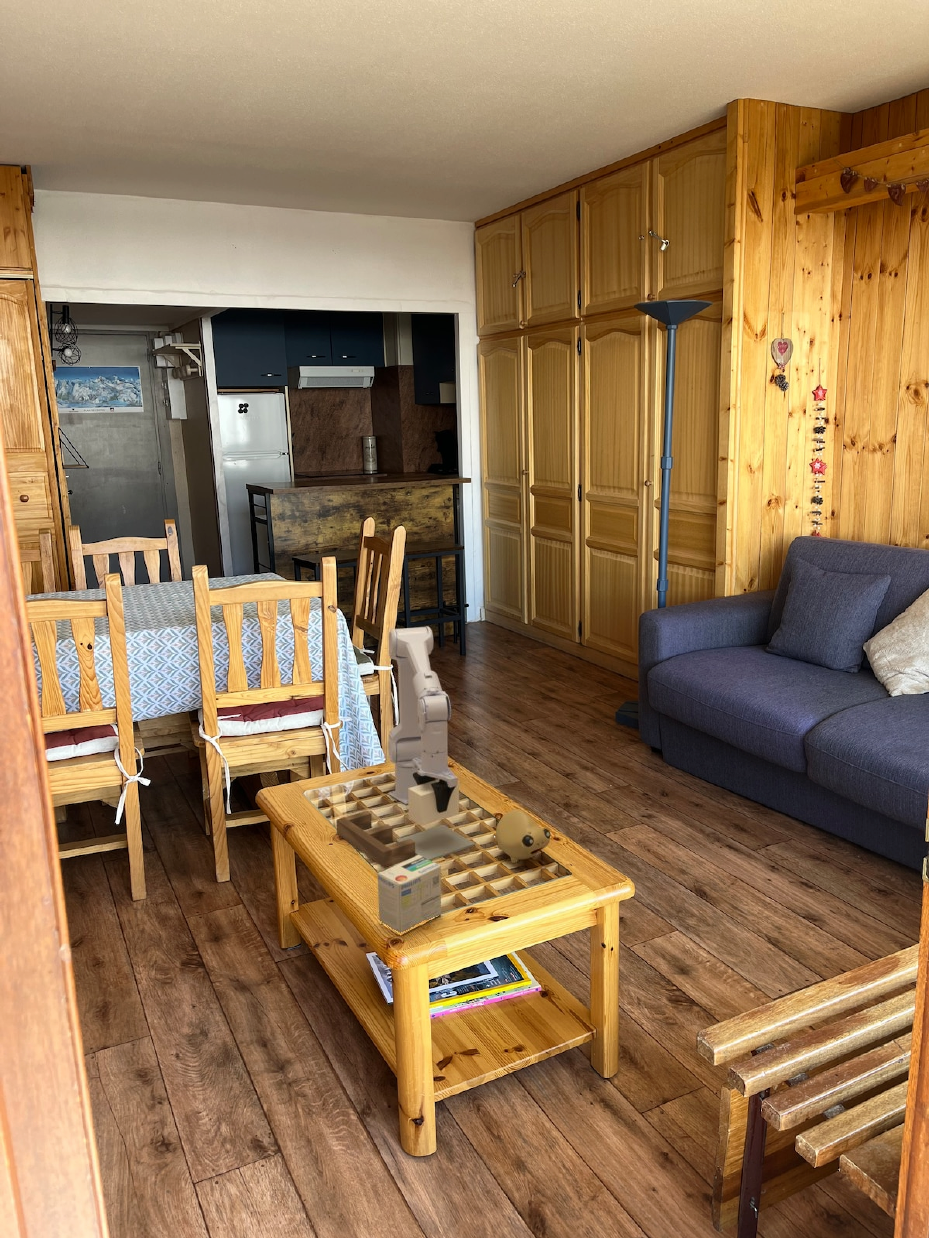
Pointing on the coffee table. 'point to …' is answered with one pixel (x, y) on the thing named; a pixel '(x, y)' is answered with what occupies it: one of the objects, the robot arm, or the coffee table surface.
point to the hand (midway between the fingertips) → (434, 806)
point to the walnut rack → (374, 839)
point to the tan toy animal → (520, 835)
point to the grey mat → (438, 842)
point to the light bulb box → (409, 893)
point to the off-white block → (429, 804)
